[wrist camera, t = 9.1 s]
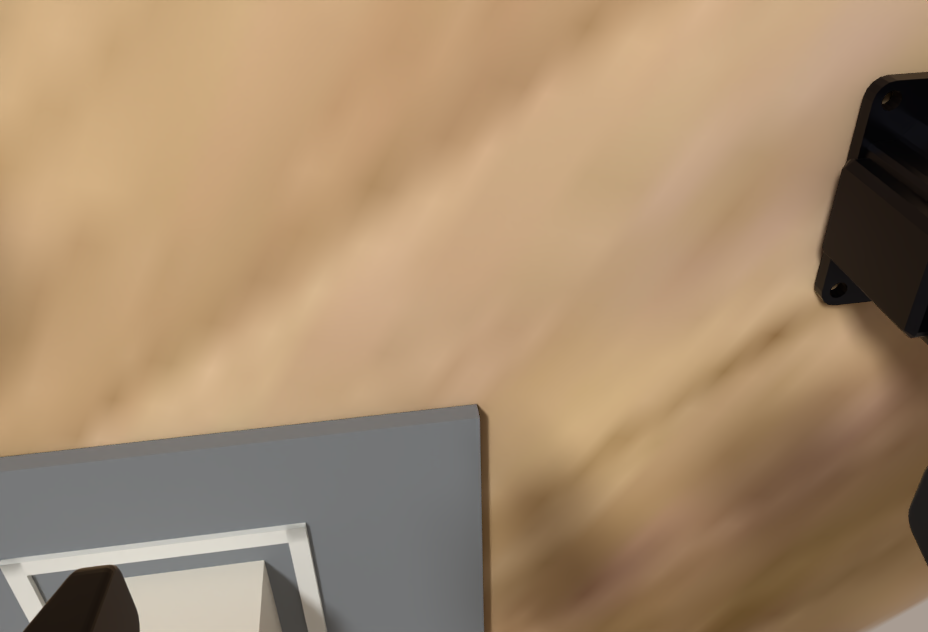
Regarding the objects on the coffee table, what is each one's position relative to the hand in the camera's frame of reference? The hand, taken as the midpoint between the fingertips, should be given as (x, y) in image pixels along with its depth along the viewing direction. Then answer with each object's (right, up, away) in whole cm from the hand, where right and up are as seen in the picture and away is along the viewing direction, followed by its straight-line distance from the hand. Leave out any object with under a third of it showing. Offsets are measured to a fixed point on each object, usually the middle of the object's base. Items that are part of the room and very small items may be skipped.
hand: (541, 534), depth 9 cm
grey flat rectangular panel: (-8, -6, +18) cm, 21 cm away
